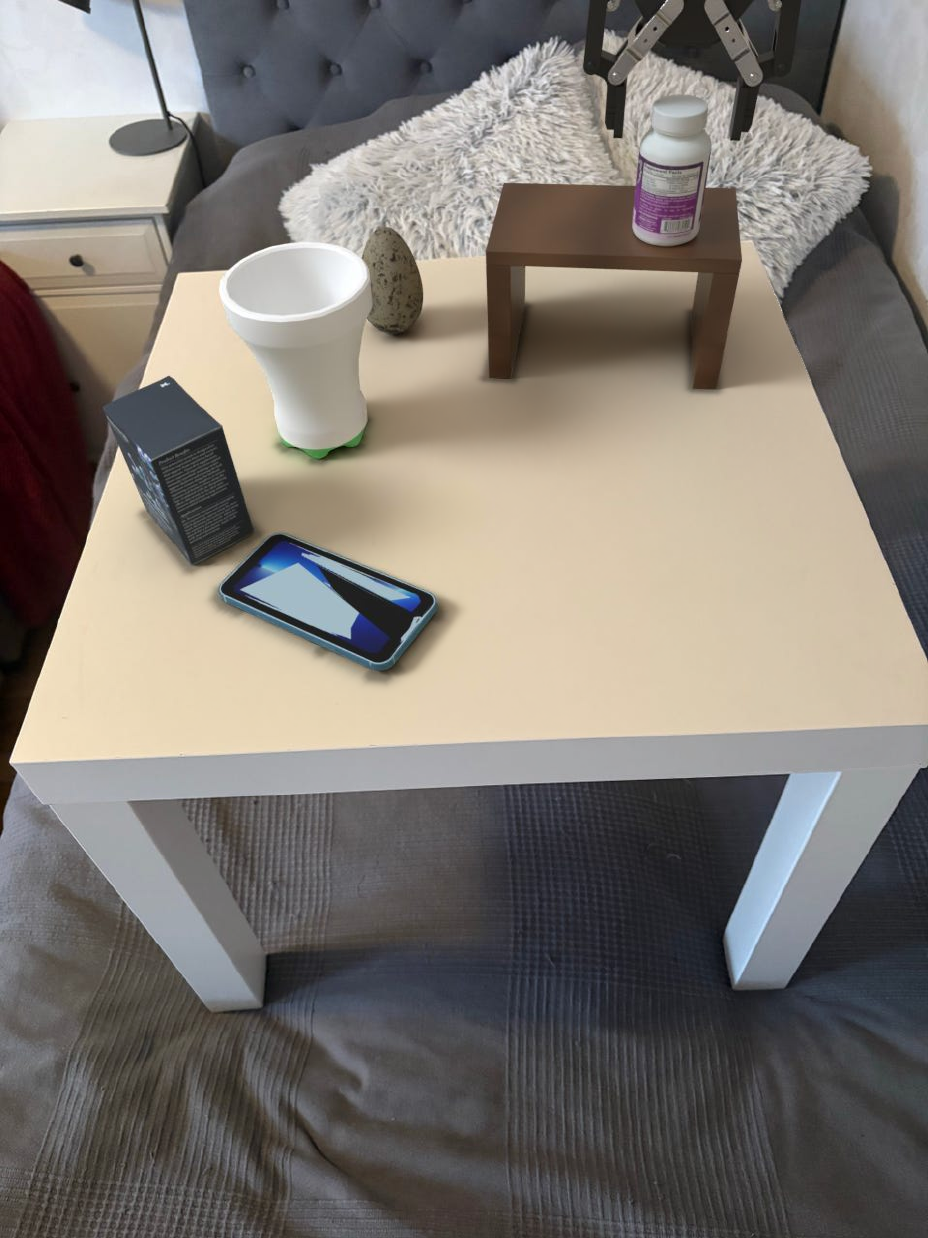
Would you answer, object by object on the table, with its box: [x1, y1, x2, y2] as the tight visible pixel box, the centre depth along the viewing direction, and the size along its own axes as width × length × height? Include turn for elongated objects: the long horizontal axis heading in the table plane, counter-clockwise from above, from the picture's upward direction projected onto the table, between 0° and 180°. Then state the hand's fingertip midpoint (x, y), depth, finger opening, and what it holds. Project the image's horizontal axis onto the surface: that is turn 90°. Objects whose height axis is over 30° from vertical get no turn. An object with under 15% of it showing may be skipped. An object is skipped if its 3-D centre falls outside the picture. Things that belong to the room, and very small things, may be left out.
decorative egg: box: [361, 226, 424, 335], centre depth 84 cm, size 6×6×10 cm
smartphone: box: [218, 532, 438, 672], centre depth 65 cm, size 7×1×15 cm
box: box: [102, 375, 255, 565], centre depth 68 cm, size 8×6×11 cm
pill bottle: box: [632, 93, 713, 247], centre depth 70 cm, size 5×5×10 cm
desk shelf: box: [485, 182, 743, 390], centre depth 80 cm, size 20×12×12 cm, turn 82°
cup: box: [218, 241, 373, 459], centre depth 73 cm, size 11×11×14 cm
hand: (676, 135), depth 68 cm, fingers open, 8 cm apart
